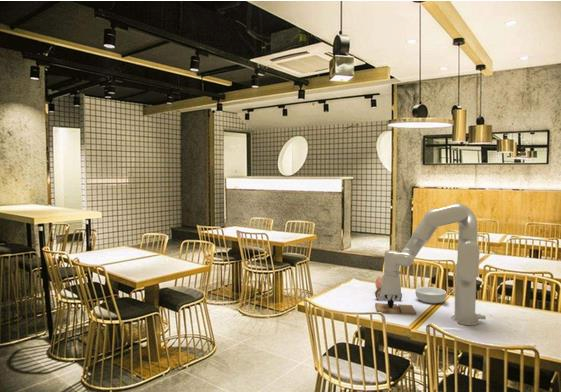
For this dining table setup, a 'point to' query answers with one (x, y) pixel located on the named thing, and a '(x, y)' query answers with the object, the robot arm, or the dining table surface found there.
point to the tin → (384, 297)
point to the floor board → (406, 309)
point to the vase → (379, 281)
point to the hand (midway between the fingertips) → (390, 307)
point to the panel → (387, 308)
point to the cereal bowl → (430, 294)
